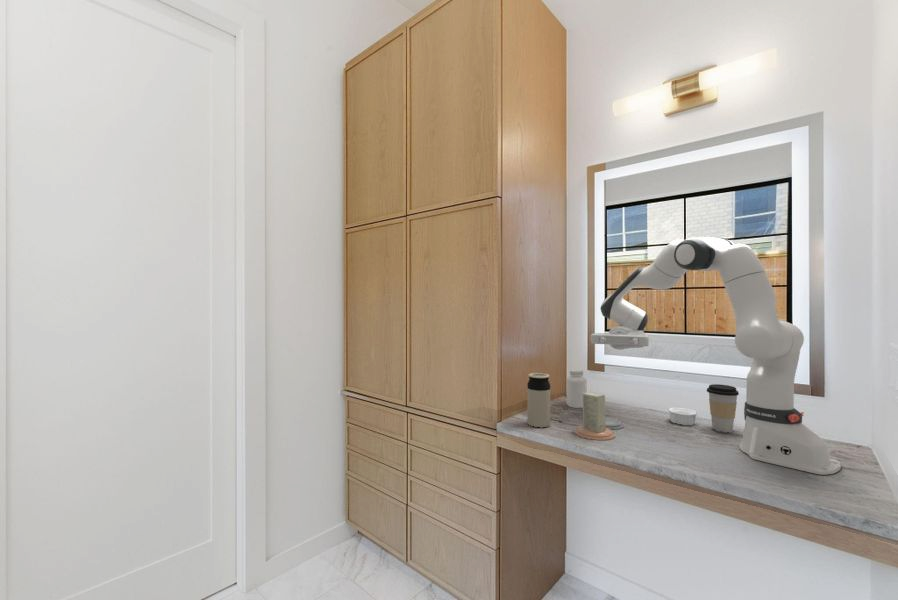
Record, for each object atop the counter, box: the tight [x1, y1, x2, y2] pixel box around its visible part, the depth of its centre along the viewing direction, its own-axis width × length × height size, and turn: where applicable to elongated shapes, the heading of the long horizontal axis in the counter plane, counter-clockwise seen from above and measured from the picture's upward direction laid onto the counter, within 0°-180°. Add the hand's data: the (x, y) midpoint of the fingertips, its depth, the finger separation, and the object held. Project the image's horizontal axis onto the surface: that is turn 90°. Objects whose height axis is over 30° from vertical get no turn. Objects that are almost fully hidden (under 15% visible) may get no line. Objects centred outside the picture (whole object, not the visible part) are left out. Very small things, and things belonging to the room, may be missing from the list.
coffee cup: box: [705, 383, 740, 433], centre depth 144 cm, size 9×9×15 cm
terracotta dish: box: [573, 424, 616, 441], centre depth 140 cm, size 13×13×1 cm
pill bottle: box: [566, 369, 588, 409], centre depth 175 cm, size 8×8×15 cm
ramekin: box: [668, 407, 697, 426], centre depth 153 cm, size 9×9×4 cm
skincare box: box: [582, 391, 606, 433], centre depth 140 cm, size 6×4×12 cm
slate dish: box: [605, 416, 625, 431], centre depth 151 cm, size 13×13×1 cm
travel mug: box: [526, 372, 551, 429], centre depth 149 cm, size 8×8×18 cm
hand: (618, 341), depth 151 cm, fingers open, 8 cm apart
